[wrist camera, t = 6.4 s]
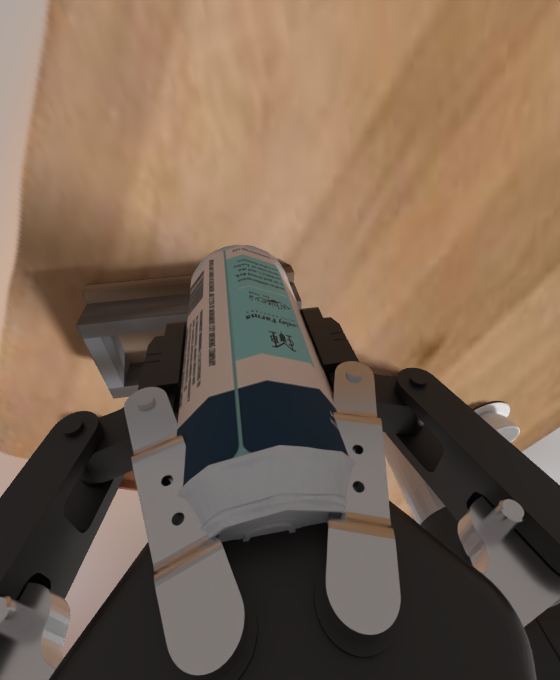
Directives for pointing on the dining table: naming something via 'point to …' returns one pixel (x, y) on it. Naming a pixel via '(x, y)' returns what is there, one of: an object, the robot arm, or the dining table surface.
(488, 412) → the teacup
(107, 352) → the frame
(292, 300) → the beer can
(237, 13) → the dining table surface
